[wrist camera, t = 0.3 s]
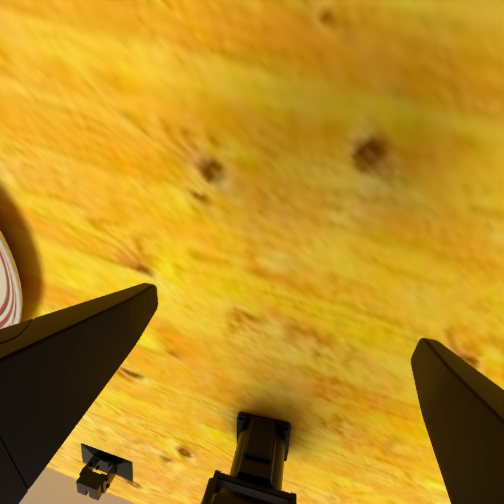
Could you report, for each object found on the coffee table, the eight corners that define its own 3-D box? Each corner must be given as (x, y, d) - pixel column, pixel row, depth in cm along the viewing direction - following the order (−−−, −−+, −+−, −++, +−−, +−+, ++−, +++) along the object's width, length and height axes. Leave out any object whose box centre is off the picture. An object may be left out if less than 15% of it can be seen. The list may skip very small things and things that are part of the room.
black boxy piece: (77, 458, 45) (54, 489, 41) (74, 432, 42) (48, 462, 38) (142, 483, 44) (124, 518, 39) (142, 457, 41) (123, 492, 37)
